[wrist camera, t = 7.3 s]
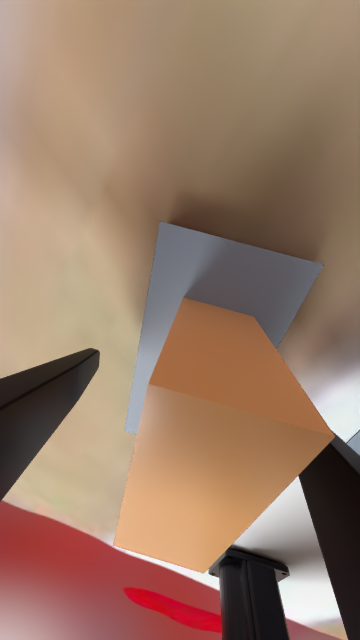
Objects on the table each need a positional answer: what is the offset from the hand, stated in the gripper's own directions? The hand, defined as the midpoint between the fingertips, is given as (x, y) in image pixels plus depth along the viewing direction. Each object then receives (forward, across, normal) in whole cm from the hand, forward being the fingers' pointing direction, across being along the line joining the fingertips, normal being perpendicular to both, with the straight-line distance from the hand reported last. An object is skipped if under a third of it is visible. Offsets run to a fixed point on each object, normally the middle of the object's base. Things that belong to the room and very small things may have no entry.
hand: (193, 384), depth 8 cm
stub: (+2, 0, 0) cm, 2 cm away
